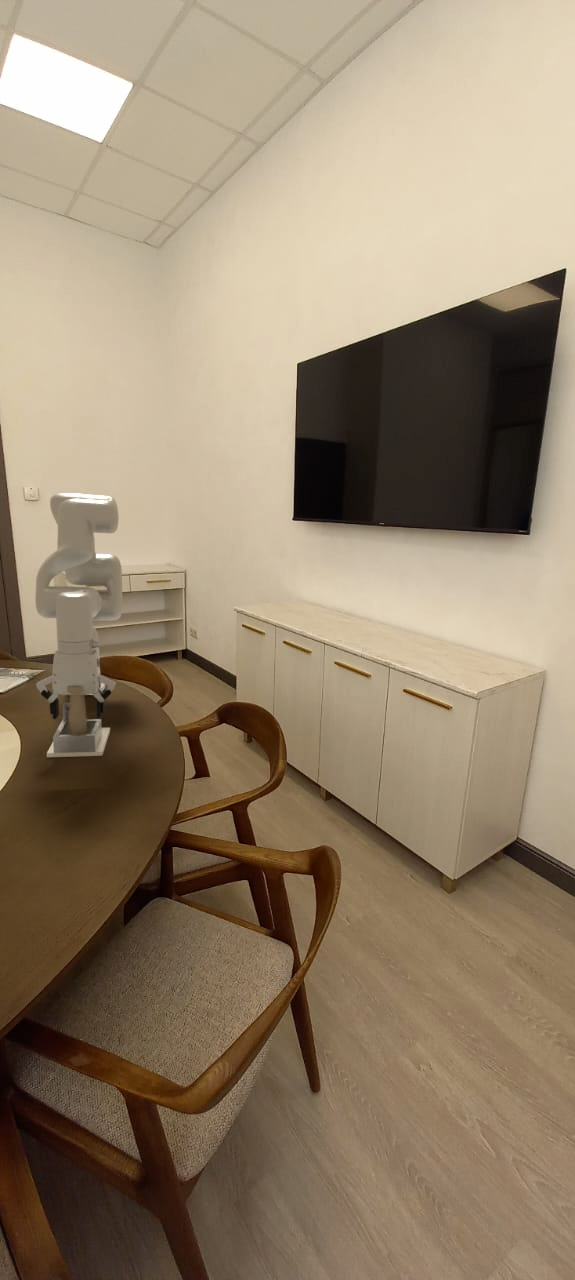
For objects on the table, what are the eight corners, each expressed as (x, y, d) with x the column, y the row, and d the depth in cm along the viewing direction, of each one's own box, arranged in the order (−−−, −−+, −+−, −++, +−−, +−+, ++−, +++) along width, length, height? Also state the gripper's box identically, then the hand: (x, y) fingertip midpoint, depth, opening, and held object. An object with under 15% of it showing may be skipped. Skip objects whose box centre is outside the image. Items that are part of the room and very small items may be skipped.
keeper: (60, 732, 131) (59, 699, 129) (110, 731, 133) (109, 699, 131) (46, 757, 118) (45, 721, 116) (102, 755, 120) (101, 720, 118)
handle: (90, 736, 127) (88, 678, 124) (88, 747, 121) (86, 686, 118) (69, 738, 126) (66, 679, 122) (66, 749, 120) (63, 687, 116)
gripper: (117, 642, 123) (118, 710, 127) (39, 641, 120) (42, 711, 124) (113, 650, 116) (114, 722, 120) (30, 650, 112) (34, 723, 116)
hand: (77, 716), depth 122 cm, fingers open, 9 cm apart
